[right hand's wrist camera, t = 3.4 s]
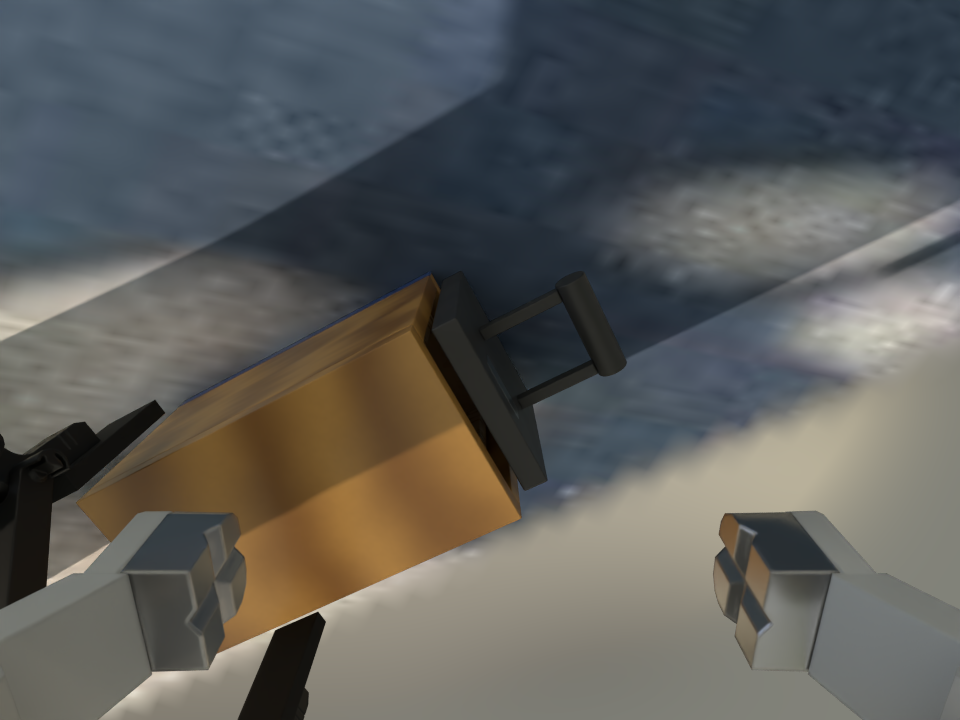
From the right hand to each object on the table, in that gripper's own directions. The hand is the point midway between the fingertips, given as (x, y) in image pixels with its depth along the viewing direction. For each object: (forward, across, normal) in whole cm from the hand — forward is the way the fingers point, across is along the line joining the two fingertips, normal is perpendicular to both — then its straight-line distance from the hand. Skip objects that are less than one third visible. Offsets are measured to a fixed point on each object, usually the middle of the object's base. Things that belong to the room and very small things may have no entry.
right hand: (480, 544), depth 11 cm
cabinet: (+26, -8, -9) cm, 29 cm away
